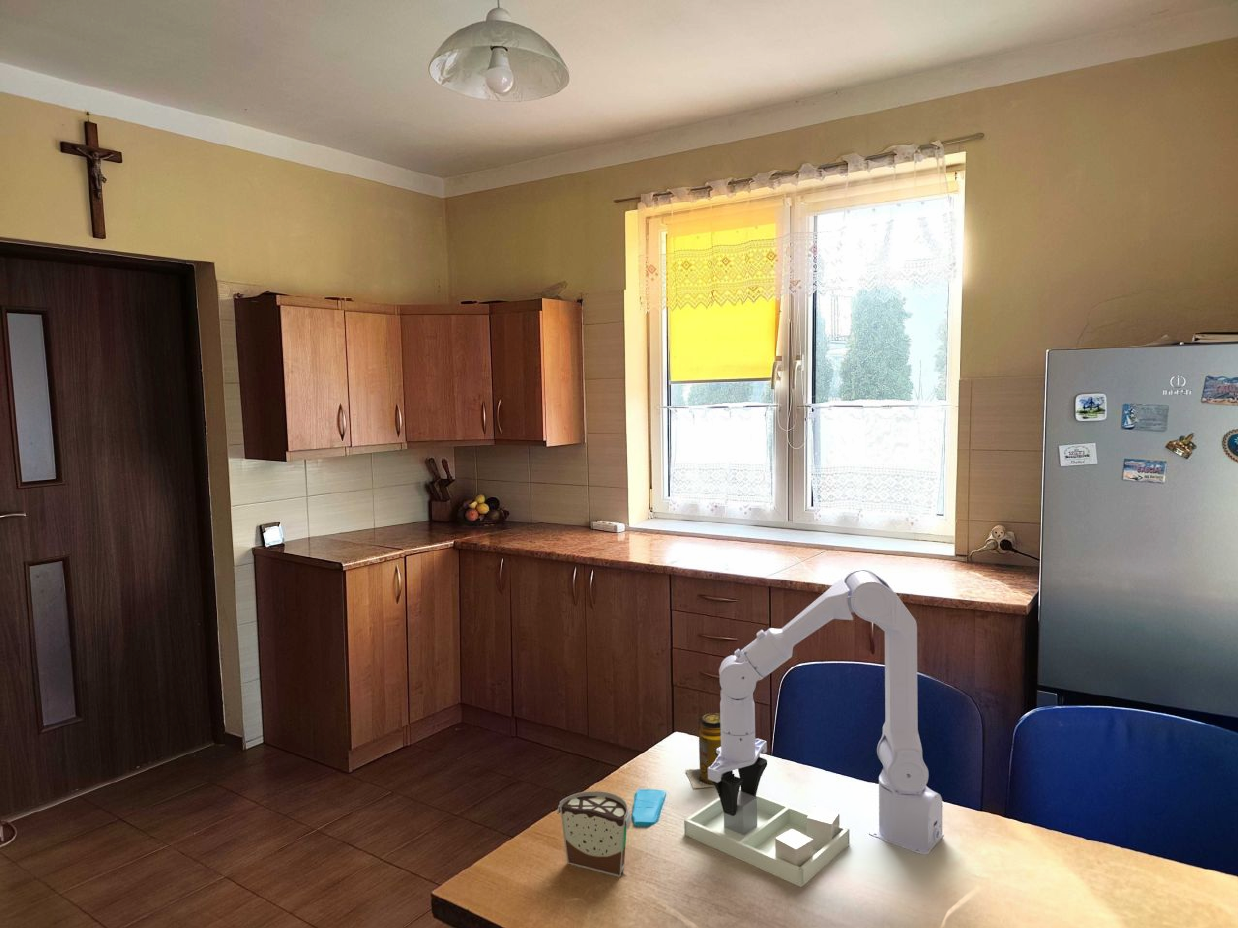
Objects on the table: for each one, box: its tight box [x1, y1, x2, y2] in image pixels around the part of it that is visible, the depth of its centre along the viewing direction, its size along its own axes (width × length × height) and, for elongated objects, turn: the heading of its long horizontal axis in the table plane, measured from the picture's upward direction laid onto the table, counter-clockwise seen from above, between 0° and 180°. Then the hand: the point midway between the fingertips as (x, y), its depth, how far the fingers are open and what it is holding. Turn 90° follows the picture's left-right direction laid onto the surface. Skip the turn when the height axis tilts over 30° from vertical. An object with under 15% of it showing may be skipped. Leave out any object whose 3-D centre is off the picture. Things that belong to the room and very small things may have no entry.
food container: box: [557, 790, 632, 878], centre depth 126 cm, size 12×6×10 cm, turn 65°
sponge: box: [630, 788, 667, 828], centre depth 142 cm, size 2×12×6 cm
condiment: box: [684, 712, 721, 790], centre depth 152 cm, size 7×8×12 cm
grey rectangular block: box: [724, 791, 757, 835], centre depth 134 cm, size 4×4×5 cm
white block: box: [775, 829, 813, 867], centre depth 121 cm, size 4×4×5 cm
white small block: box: [807, 806, 840, 851], centre depth 128 cm, size 4×4×5 cm
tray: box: [683, 787, 850, 888], centre depth 130 cm, size 22×15×3 cm
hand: (739, 806), depth 134 cm, fingers open, 5 cm apart
